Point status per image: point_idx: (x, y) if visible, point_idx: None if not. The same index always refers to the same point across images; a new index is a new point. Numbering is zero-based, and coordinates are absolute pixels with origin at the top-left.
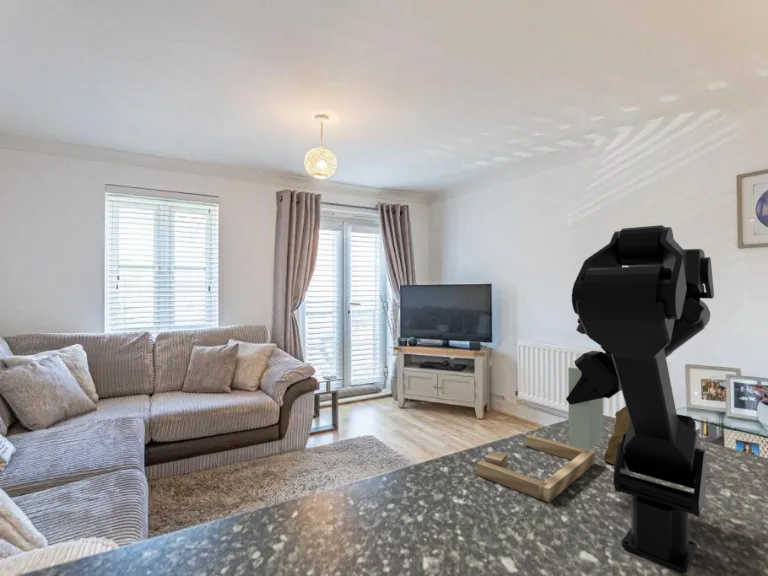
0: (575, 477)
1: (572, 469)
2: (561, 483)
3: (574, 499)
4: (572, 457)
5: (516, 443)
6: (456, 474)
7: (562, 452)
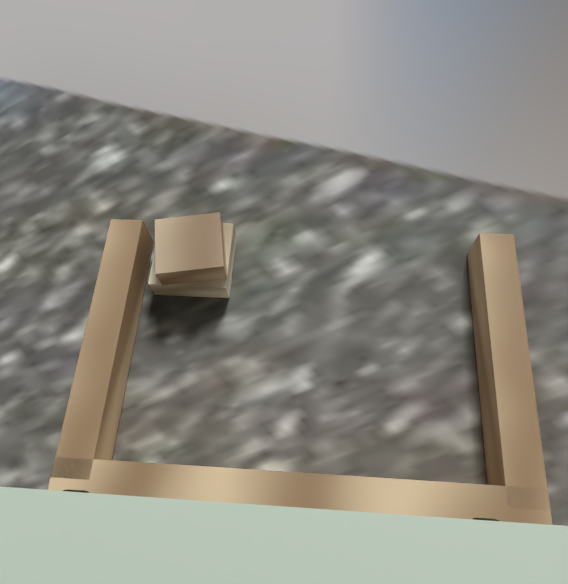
0: None
1: None
2: None
3: None
4: (488, 441)
5: (467, 220)
6: (92, 198)
7: (486, 396)
